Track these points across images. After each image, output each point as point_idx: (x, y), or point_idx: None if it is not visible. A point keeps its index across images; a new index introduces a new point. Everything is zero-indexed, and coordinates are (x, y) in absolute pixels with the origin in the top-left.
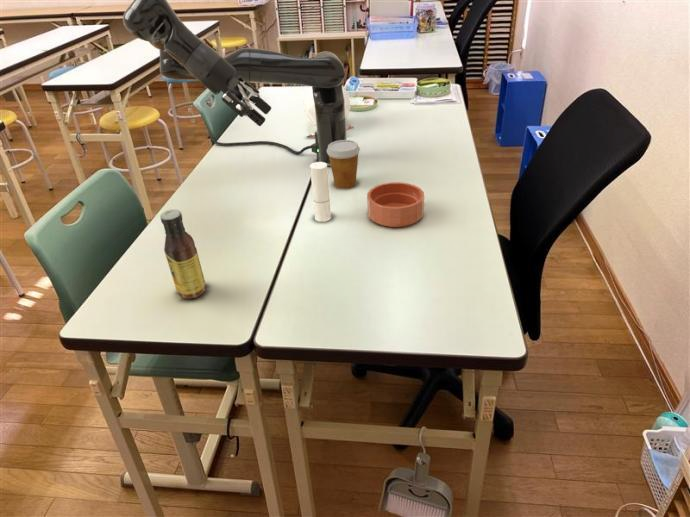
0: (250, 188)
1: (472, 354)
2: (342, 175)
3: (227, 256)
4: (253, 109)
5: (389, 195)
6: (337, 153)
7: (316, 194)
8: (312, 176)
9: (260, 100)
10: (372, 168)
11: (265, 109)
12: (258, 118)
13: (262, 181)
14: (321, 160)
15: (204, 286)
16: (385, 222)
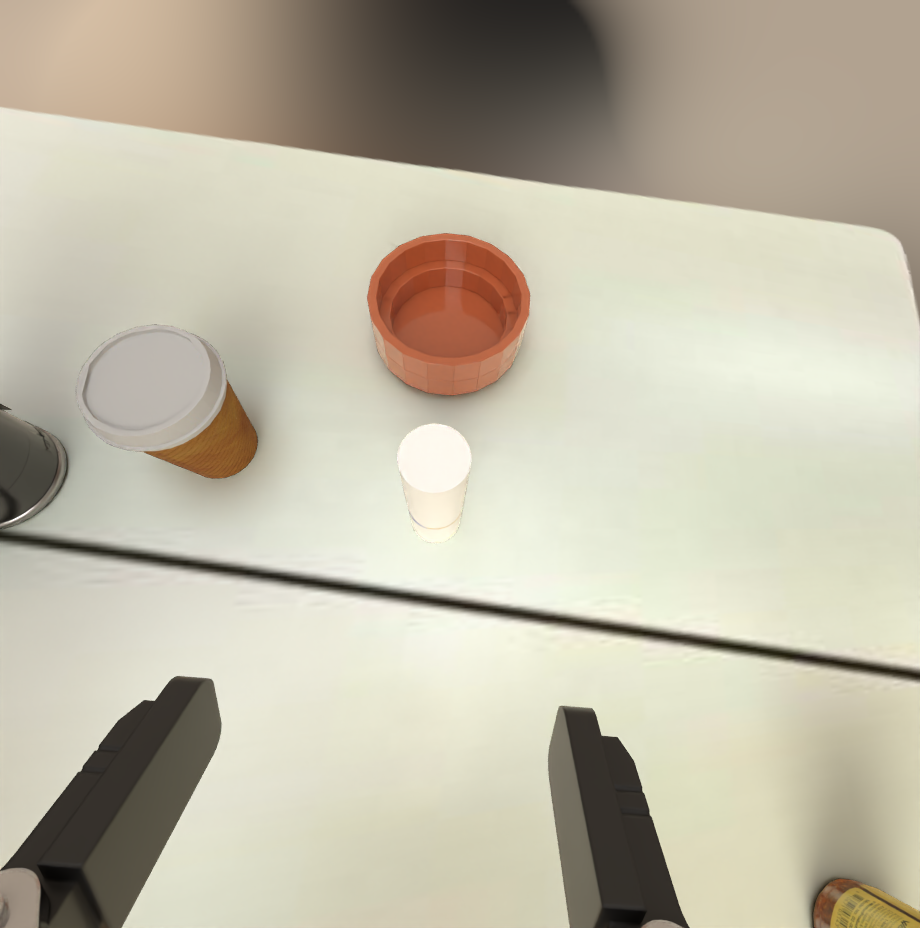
0: None
1: (911, 289)
2: (241, 433)
3: None
4: (638, 899)
5: (391, 323)
6: (205, 405)
7: (460, 507)
8: (455, 497)
9: (109, 842)
10: None
11: (196, 747)
12: (637, 787)
13: None
14: (11, 515)
15: (855, 884)
16: (515, 355)
